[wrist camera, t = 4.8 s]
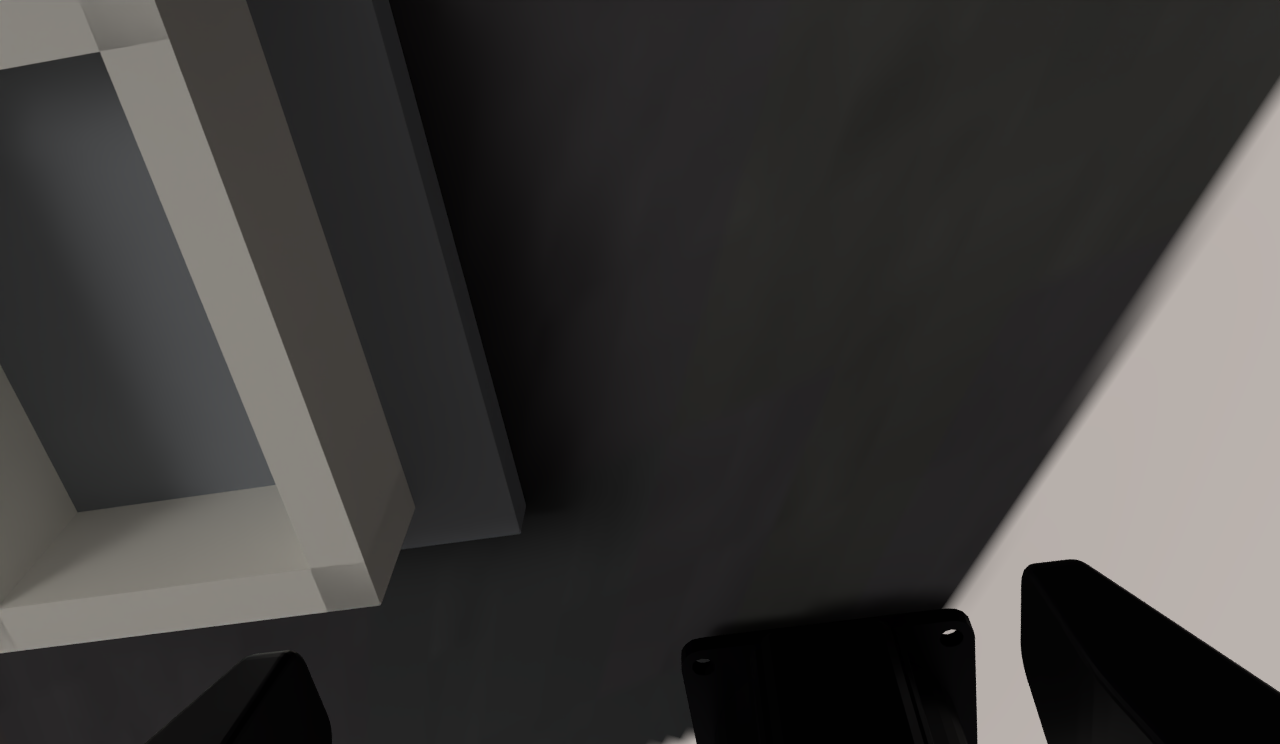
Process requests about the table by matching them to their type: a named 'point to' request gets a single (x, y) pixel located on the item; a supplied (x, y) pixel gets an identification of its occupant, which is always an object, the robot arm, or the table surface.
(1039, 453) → the table surface
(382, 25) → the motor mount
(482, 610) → the table surface
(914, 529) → the table surface
